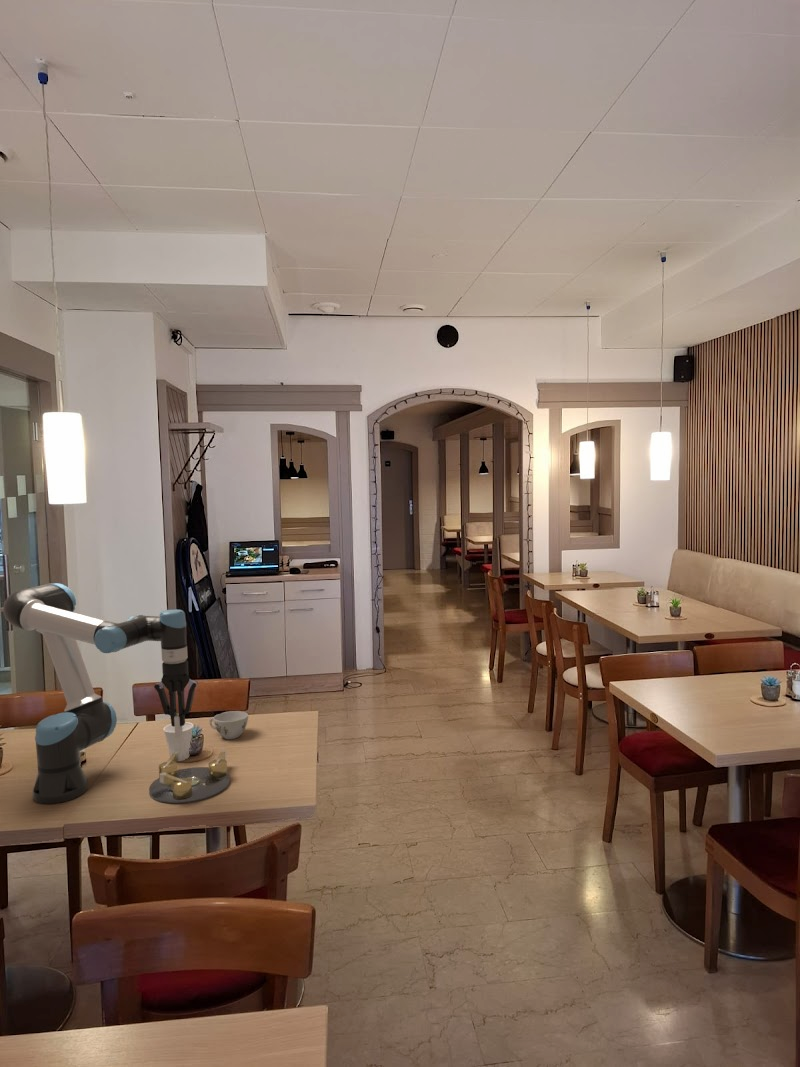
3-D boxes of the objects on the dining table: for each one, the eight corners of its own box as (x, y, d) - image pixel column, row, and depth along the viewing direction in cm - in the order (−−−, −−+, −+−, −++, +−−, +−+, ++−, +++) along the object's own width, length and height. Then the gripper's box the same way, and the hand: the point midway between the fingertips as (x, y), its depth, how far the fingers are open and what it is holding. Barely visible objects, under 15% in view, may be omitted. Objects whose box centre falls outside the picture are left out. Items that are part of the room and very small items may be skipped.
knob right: (225, 778, 222) (224, 764, 222) (207, 778, 222) (206, 765, 221) (232, 761, 235) (232, 749, 234) (215, 762, 234) (215, 749, 234)
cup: (186, 764, 236) (184, 732, 236) (159, 763, 238) (157, 731, 238) (200, 753, 246) (198, 722, 245) (174, 751, 248) (172, 721, 247)
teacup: (254, 731, 266) (254, 711, 265) (239, 744, 254) (238, 722, 253) (218, 729, 270) (217, 708, 269) (201, 741, 258) (200, 719, 257)
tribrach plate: (138, 805, 207) (138, 797, 207) (162, 771, 231) (161, 764, 231) (221, 801, 208) (220, 794, 208) (235, 768, 232) (235, 761, 232)
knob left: (175, 780, 221) (174, 766, 221) (156, 781, 221) (156, 767, 221) (185, 763, 234) (184, 750, 234) (168, 764, 234) (167, 751, 233)
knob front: (196, 793, 211) (195, 779, 211) (180, 800, 207) (179, 786, 206) (170, 783, 219) (169, 769, 219) (154, 790, 214) (153, 776, 214)
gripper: (149, 664, 212) (153, 741, 213) (193, 663, 212) (196, 739, 214) (157, 658, 219) (161, 732, 221) (199, 657, 219) (203, 731, 221)
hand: (178, 736), depth 217 cm, fingers closed
